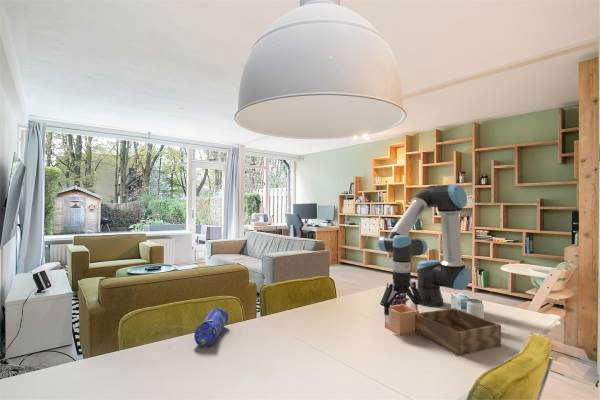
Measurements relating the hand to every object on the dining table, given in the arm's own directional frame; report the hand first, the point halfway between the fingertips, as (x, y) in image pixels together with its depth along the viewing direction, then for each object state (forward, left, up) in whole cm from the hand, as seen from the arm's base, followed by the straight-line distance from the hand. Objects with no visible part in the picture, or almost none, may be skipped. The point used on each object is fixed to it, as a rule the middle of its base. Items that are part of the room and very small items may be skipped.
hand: (401, 320), depth 139 cm
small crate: (0, 0, -4) cm, 4 cm away
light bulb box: (-37, -1, -4) cm, 38 cm away
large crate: (-14, +16, -4) cm, 22 cm away
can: (-32, +10, -4) cm, 34 cm away
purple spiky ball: (-15, -22, -4) cm, 27 cm away
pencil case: (+77, -22, -4) cm, 80 cm away
